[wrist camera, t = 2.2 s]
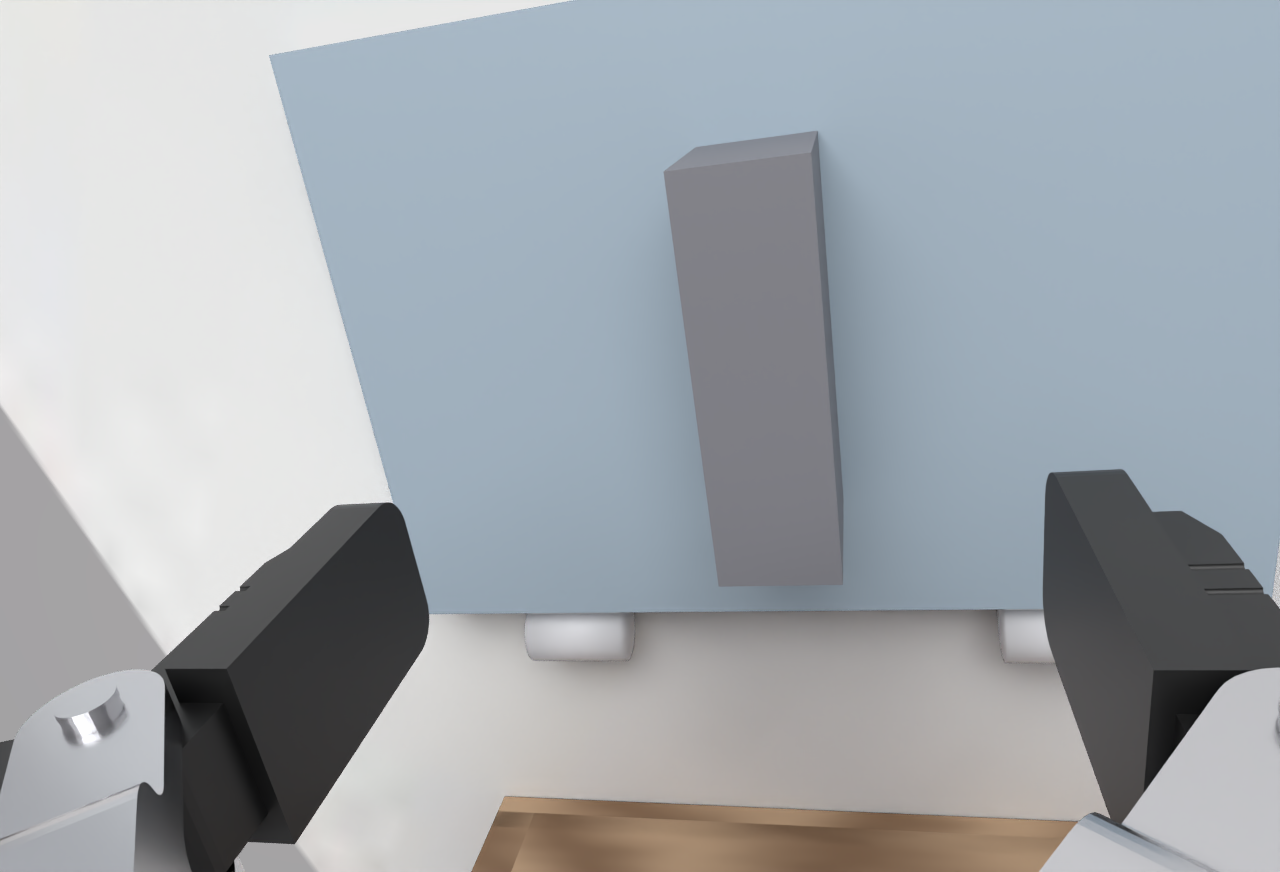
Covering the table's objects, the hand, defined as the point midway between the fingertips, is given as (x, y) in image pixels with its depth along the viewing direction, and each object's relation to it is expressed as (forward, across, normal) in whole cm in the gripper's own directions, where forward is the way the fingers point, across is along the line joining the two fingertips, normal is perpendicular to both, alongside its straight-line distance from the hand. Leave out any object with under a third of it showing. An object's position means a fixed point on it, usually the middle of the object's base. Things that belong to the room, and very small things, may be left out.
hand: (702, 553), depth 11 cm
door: (+11, 0, 0) cm, 11 cm away
